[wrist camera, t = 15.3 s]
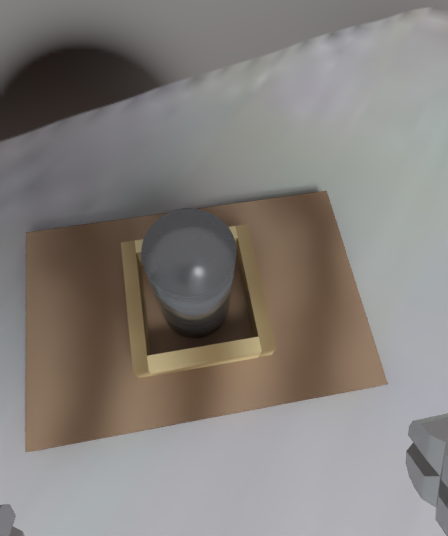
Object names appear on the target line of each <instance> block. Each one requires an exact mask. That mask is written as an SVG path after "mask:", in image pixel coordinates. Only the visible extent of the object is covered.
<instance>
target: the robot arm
mask: <svg viewBox="0 0 448 536" xmlns="http://www.w3.org/2000/svg"><path fill="white" fill-rule="evenodd" d="M408 436H409V437H410V438H411V440H412V441H413V444H412V445H411V446H410V447H409V449H408V450H407V451H406V466H407V470H408V474H409V477H410V479H411V481H412V483H413V486H414V488H415V489H416V491H417V492H418V494H419V495H420V497H421V498H422V499H423V500H425V501H426V502H428V503H430V504H431V505H433V506H434V507H436V521H437V522H438V524H439V525H440V527H441V528H442V530H443V531H444V533H445V534H446V536H448V413H447V414H443V415H438V416H433V417H429V418H424V419H419V420H415V421H412V423H411V424H410V426H409V432H408ZM15 517H16V515H15V513H14V511H13V509H12V507H11V505H10V504H4V505H0V536H24V533H23V531H21V530H19V529H17V528H15V527H13V523H14V520H15Z"/></svg>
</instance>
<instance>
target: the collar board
mask: <svg viewBox="0 0 448 536" xmlns="http://www.w3.org/2000/svg"><path fill="white" fill-rule="evenodd" d="M199 210H203V211H207V212H209V213H212V214H213V215H215V216H217V217H218V218H220V219H221V220H222V221H223V222H224V223H225V224H226V225H227V226H228V227H229V229H230V230H231V232H232V234H233V236H234V239H235V243H236V261H235V268H234V275H233V282H232V289H231V296H230V304H229V310H228V315H227V318H226V320H225V322H224V323H223V325H222V326H221V327H220V328H219V329H218V330H217V331H215V332H214V333H212V334H211V335H208V336H206V337H202V338H189V337H185V336H182V335H180V334H178V333H176V332H175V331H174V330H173V329H172V328H171V327H170V326H169V325H168V324H167V322H166V320H165V318H164V315H163V313H162V310H161V308H160V306H159V303H158V301H157V298H156V296H155V293H154V291H153V288H152V286H151V284H150V281H149V279H148V276H147V274H146V271H145V269H144V266H143V263H142V258H141V248H142V243H143V239H144V237H145V235H146V233H147V231H148V230H149V228H150V227H151V226H152V225H153V224H154V223H155V222H156V221H157V220H158V219H159V218H161V217H162V216H164V215H166V214H168V213H163V214H156V215H149V216H141V217H134V218H127V219H120V220H113V221H106V222H98V223H91V224H84V225H77V226H70V227H63V228H55V229H48V230H41V231H34V232H27V233H26V449H25V452H31V451H37V450H43V449H48V448H53V447H58V446H64V445H69V444H74V443H80V442H85V441H90V440H95V439H101V438H106V437H111V436H117V435H122V434H127V433H133V432H138V431H143V430H148V429H154V428H159V427H164V426H170V425H175V424H180V423H186V422H191V421H196V420H201V419H207V418H212V417H217V416H223V415H228V414H233V413H239V412H244V411H249V410H254V409H260V408H265V407H270V406H276V405H281V404H286V403H291V402H297V401H302V400H307V399H313V398H318V397H323V396H329V395H334V394H339V393H344V392H350V391H355V390H360V389H366V388H371V387H376V386H381V385H385V384H388V383H387V380H386V377H385V374H384V371H383V367H382V364H381V361H380V358H379V355H378V352H377V349H376V345H375V342H374V339H373V336H372V333H371V330H370V327H369V323H368V320H367V317H366V314H365V311H364V308H363V304H362V301H361V298H360V295H359V292H358V289H357V286H356V282H355V279H354V276H353V273H352V270H351V267H350V264H349V260H348V257H347V254H346V251H345V248H344V245H343V241H342V238H341V235H340V232H339V229H338V226H337V223H336V219H335V216H334V213H333V210H332V207H331V204H330V200H329V197H328V194H327V191H321V192H313V193H306V194H299V195H292V196H285V197H278V198H270V199H263V200H256V201H249V202H242V203H235V204H227V205H220V206H213V207H206V208H199Z"/></svg>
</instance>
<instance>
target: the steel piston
mask: <svg viewBox="0 0 448 536" xmlns="http://www.w3.org/2000/svg"><path fill="white" fill-rule="evenodd" d="M141 258H142V263H143V266H144V269H145V271H146V274H147V276H148V279H149V281H150V284H151V286H152V288H153V291H154V293H155V296H156V298H157V301H158V303H159V306H160V308H161V310H162V313H163V315H164V318H165V320H166V322H167V324H168V325H169V326H170V327H171V328H172V329H173V330H174V331H175V332H176V333H178V334H180V335H182V336H185V337H189V338H202V337H206V336H208V335H211V334H212V333H214V332H215V331H217V330H218V329H219V328H220V327H221V326H222V325H223V323H224V322H225V320H226V318H227V315H228V310H229V304H230V296H231V289H232V282H233V275H234V268H235V261H236V243H235V239H234V236H233V234H232V232H231V230H230V229H229V227H228V226H227V225H226V224H225V223H224V222H223V221H222V220H221V219H220V218H218V217H217V216H215V215H213V214H212V213H209V212H207V211H203V210H199V209H181V210H176V211H173V212H170V213H168V214H166V215H164V216H162V217H161V218H159V219H158V220H157V221H156V222H155V223H154V224H153V225H152V226H151V227H150V228H149V230H148V231H147V233H146V235H145V237H144V239H143V243H142V248H141Z"/></svg>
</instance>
